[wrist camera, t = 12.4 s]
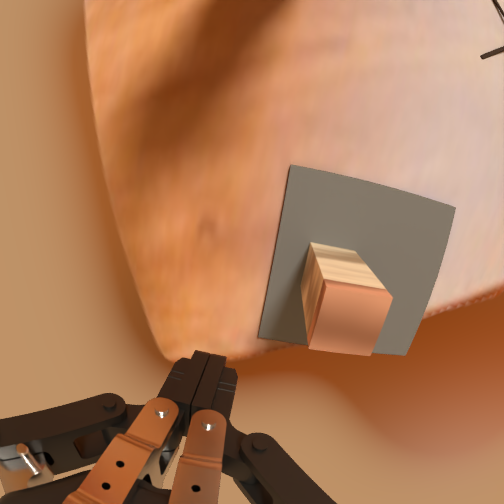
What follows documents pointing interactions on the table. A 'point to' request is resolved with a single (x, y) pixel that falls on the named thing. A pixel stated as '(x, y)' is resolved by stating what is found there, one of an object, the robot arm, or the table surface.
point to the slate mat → (357, 249)
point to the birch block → (342, 301)
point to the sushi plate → (498, 48)
